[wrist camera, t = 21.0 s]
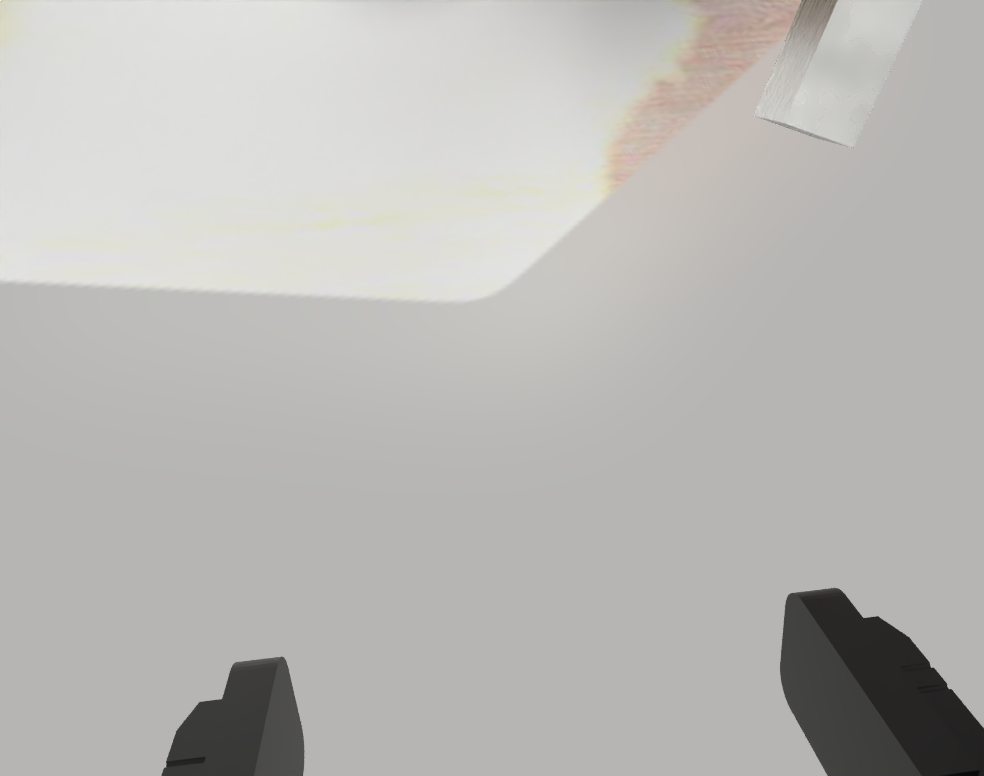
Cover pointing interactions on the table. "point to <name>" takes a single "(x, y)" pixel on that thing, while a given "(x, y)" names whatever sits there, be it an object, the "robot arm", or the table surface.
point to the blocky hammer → (835, 66)
